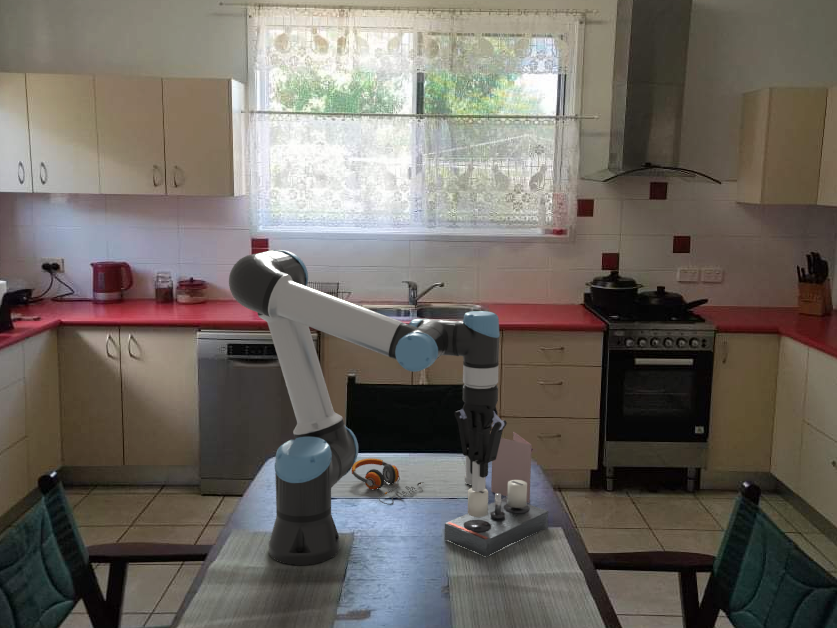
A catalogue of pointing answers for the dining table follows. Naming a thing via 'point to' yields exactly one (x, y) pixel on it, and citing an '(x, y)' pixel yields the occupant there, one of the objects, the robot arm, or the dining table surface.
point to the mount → (496, 528)
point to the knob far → (517, 493)
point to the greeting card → (511, 464)
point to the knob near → (478, 503)
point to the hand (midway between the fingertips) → (478, 489)
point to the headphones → (379, 475)
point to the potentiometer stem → (497, 509)
